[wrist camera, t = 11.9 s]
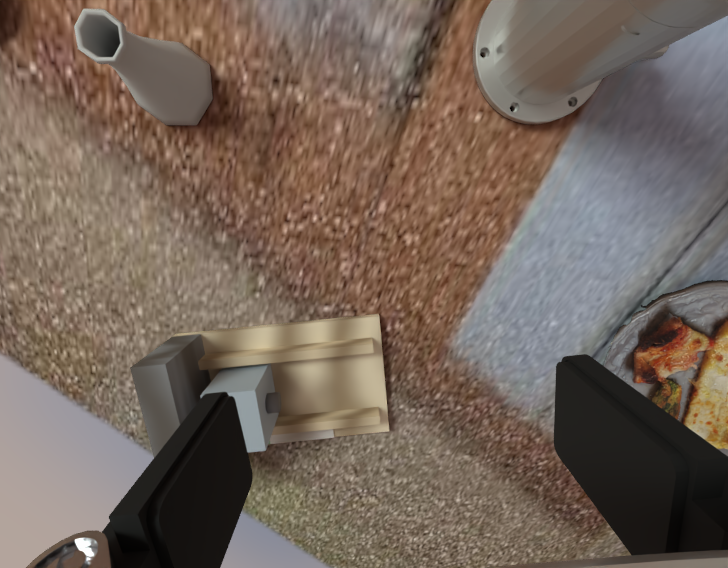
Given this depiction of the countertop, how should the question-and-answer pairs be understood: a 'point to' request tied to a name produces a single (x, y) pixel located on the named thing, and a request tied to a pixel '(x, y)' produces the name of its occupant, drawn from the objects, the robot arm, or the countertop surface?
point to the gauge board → (274, 376)
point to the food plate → (680, 357)
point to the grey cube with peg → (251, 401)
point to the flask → (149, 68)
